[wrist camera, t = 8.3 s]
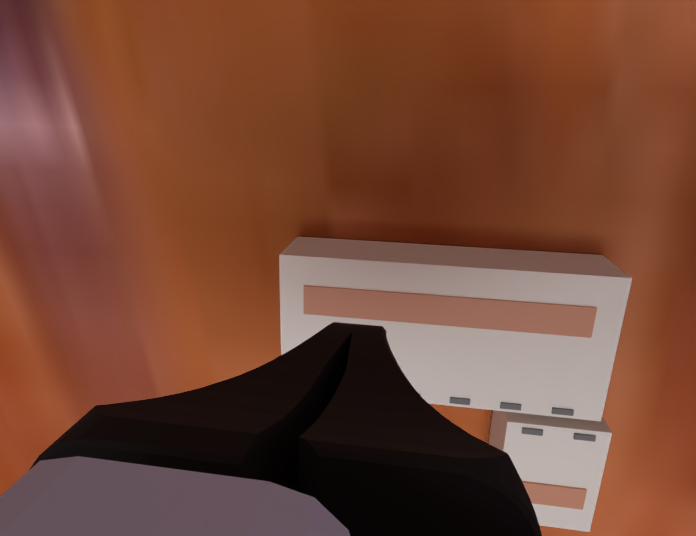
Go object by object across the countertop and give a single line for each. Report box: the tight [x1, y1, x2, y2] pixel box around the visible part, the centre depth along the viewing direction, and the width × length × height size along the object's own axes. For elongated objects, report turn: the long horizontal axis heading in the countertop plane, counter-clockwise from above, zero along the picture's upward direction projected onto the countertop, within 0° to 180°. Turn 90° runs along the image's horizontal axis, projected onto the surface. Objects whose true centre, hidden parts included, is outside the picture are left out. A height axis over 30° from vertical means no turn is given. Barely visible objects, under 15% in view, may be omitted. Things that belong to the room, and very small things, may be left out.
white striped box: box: [279, 236, 632, 421], centre depth 20 cm, size 13×6×3 cm, turn 89°
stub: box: [488, 410, 612, 532], centre depth 21 cm, size 4×5×3 cm
